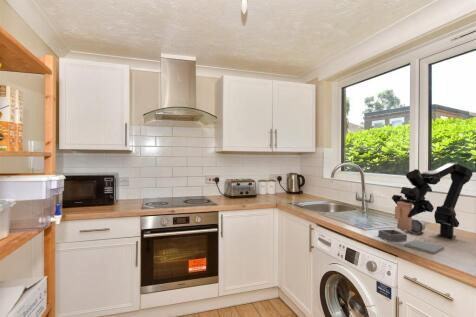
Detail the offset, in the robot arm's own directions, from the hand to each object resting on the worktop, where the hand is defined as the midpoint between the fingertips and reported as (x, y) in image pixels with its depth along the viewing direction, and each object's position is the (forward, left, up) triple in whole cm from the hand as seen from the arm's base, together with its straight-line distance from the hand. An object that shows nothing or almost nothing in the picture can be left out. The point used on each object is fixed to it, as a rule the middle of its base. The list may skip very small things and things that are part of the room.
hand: (402, 215), depth 130 cm
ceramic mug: (-26, -5, -14) cm, 29 cm away
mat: (-1, +9, -13) cm, 16 cm away
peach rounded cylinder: (-1, 0, -7) cm, 7 cm away
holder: (-3, -6, -13) cm, 15 cm away
